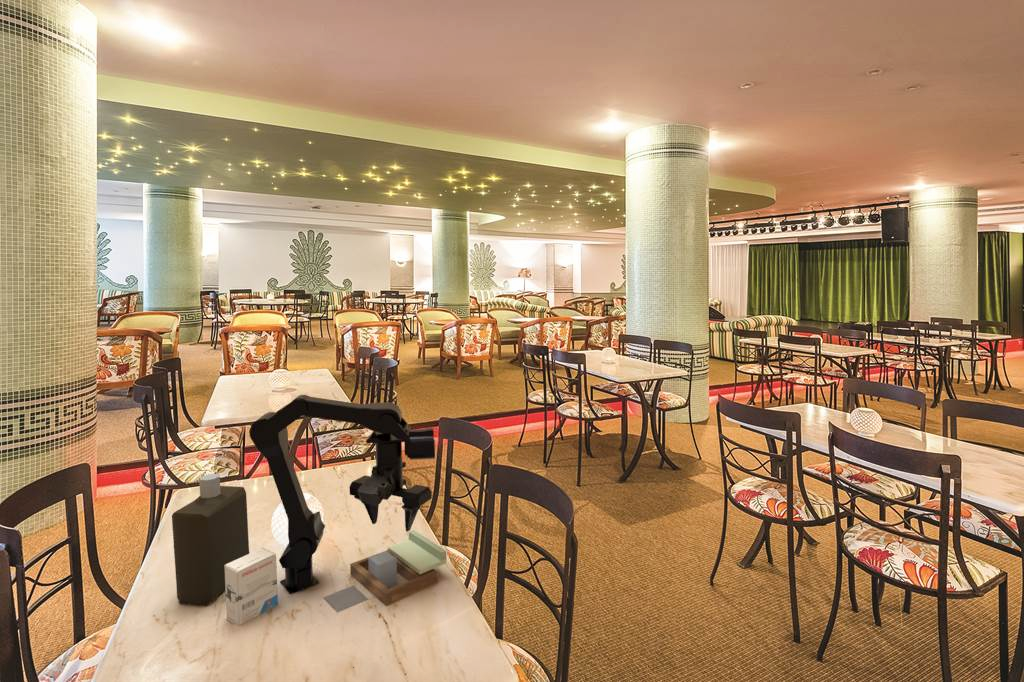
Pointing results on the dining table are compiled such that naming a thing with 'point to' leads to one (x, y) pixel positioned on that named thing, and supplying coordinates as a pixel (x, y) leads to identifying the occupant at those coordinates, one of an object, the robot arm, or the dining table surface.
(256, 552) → the ink box
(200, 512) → the bottle
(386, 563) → the block
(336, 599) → the mat
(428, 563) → the cover
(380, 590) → the brown hollow rectangular piece
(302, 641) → the dining table surface
